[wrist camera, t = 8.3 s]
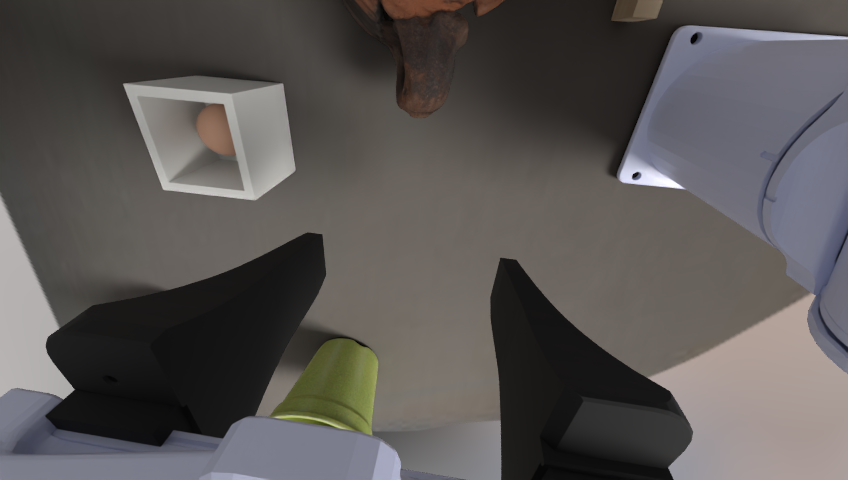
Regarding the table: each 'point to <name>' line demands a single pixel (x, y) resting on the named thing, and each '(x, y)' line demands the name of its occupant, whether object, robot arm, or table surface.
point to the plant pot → (334, 388)
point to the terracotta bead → (215, 129)
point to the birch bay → (636, 10)
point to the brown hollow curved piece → (419, 44)
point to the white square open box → (190, 158)
